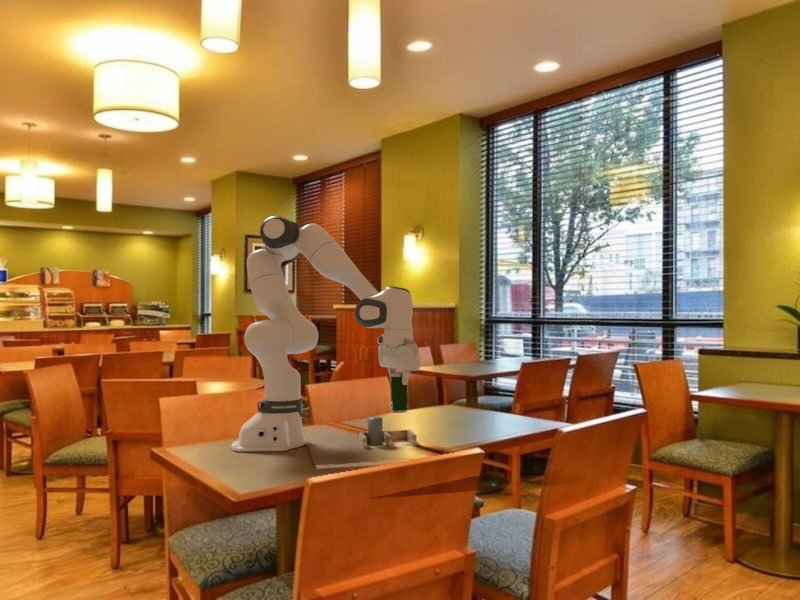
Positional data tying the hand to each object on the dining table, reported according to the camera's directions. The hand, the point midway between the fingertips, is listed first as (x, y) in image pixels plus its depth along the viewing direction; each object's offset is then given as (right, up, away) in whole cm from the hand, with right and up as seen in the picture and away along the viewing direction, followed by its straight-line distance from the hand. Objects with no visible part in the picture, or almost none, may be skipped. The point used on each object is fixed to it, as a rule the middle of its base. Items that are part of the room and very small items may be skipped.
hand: (399, 383), depth 184 cm
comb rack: (-4, -19, -1) cm, 20 cm away
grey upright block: (-7, -18, -2) cm, 20 cm away
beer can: (0, -9, 0) cm, 9 cm away
